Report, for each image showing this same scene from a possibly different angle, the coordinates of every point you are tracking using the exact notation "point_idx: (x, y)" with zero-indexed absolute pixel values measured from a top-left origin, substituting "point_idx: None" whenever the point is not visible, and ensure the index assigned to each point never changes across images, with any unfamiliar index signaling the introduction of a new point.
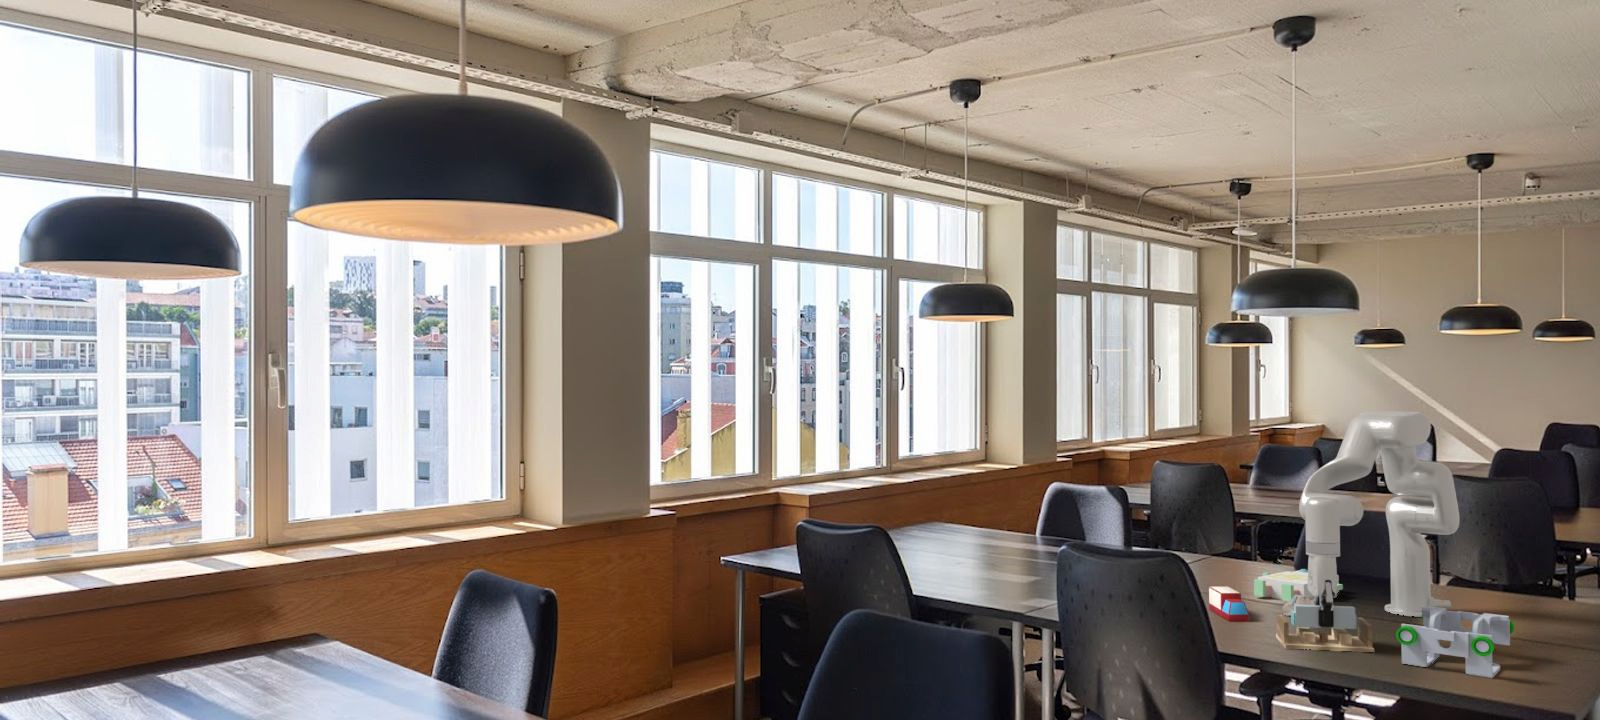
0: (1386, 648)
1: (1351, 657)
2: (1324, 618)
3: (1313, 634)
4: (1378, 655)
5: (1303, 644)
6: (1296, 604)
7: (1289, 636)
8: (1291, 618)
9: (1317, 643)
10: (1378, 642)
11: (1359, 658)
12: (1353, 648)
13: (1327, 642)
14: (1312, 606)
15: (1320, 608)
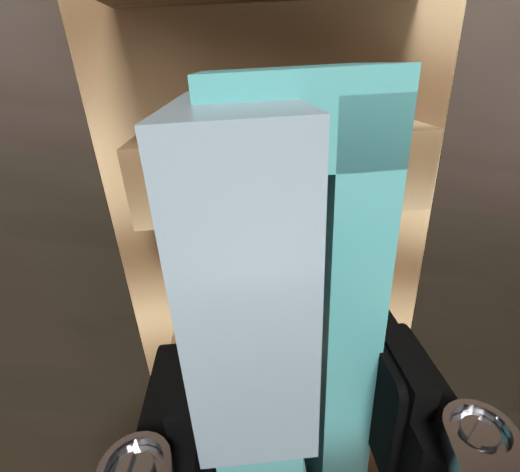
0: None
1: (32, 336)
2: (153, 382)
3: (134, 218)
4: (131, 426)
5: (124, 124)
6: (324, 166)
7: (361, 55)
8: (344, 64)
9: None
10: None
11: (30, 363)
12: (149, 368)
13: None
14: (204, 392)
15: (152, 454)
